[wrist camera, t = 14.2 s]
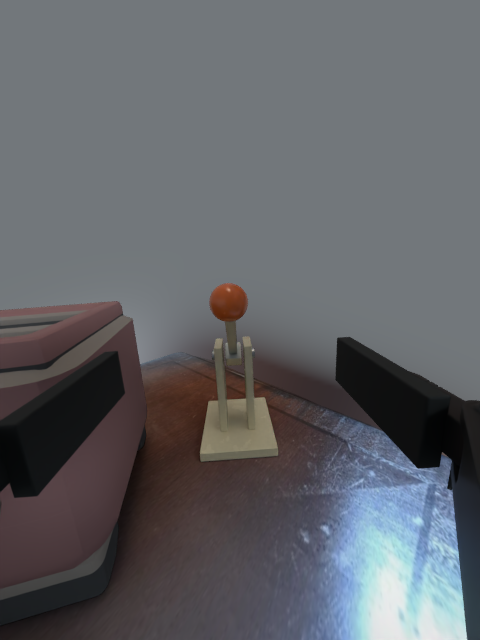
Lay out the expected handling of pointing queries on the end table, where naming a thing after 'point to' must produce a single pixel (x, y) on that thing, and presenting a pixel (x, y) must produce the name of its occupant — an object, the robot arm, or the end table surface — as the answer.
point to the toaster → (79, 471)
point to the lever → (230, 316)
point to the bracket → (237, 417)
